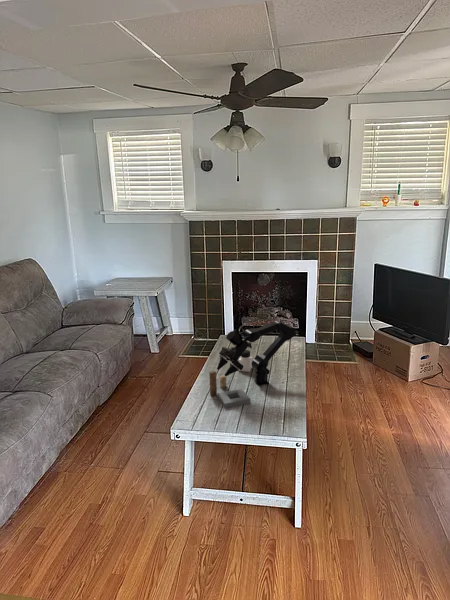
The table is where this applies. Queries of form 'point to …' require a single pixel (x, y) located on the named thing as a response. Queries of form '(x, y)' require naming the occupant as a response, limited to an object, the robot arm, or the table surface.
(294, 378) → the table surface
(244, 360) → the medicine bottle
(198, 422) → the table surface
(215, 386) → the walnut pin
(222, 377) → the short beech pin
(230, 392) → the slate hole plate
